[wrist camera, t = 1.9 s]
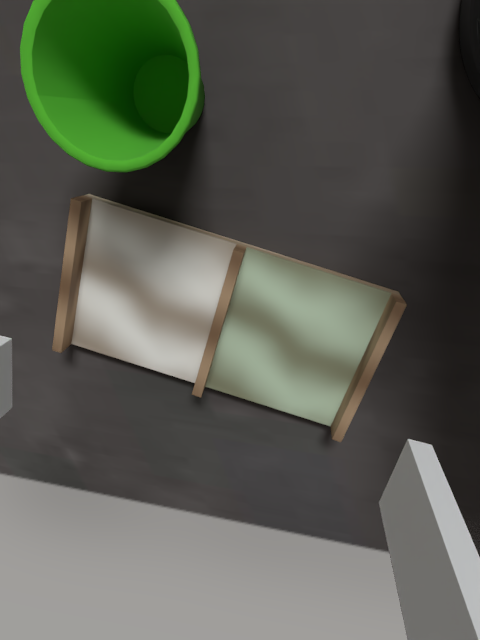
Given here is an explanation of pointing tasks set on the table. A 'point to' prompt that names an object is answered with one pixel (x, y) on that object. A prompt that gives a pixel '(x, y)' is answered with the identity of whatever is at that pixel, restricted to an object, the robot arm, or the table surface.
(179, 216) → the table surface
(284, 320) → the wooden divided tray
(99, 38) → the cup
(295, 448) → the table surface
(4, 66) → the table surface
